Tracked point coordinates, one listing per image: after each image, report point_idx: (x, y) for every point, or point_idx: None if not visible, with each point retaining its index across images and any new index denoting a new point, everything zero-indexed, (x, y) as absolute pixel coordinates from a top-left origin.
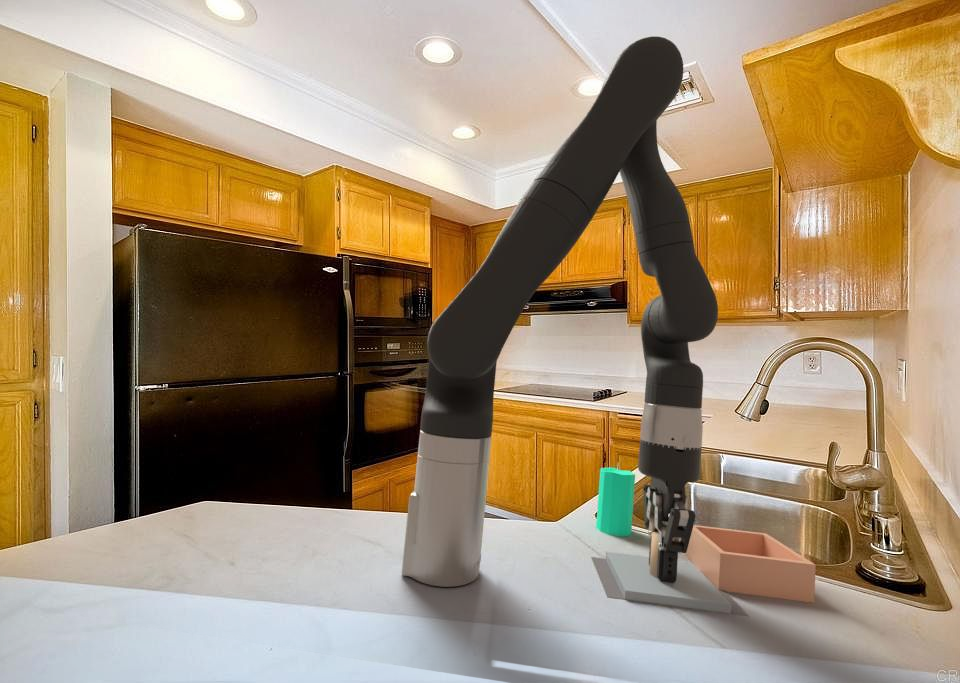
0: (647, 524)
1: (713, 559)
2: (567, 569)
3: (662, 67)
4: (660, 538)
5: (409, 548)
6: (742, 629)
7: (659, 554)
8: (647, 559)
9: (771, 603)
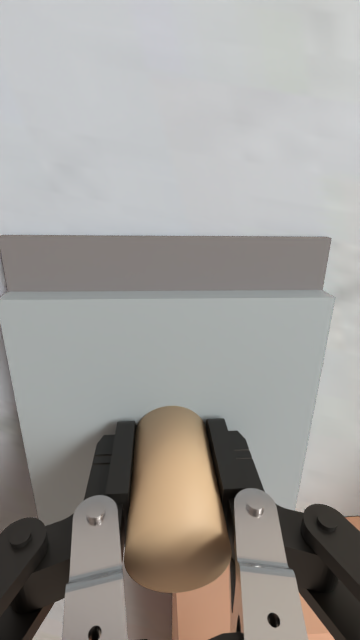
0: (306, 527)
1: (219, 597)
2: (217, 119)
3: None
4: (87, 543)
5: None
6: (2, 519)
7: (108, 480)
8: (287, 423)
9: (157, 597)
